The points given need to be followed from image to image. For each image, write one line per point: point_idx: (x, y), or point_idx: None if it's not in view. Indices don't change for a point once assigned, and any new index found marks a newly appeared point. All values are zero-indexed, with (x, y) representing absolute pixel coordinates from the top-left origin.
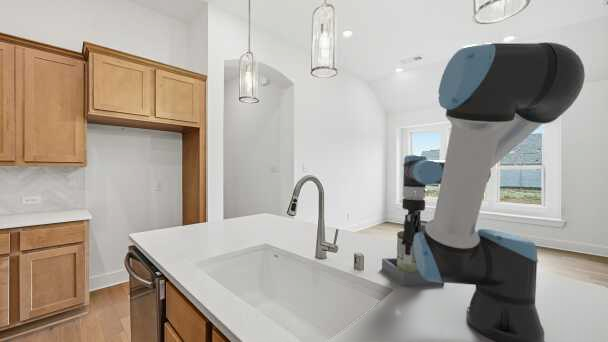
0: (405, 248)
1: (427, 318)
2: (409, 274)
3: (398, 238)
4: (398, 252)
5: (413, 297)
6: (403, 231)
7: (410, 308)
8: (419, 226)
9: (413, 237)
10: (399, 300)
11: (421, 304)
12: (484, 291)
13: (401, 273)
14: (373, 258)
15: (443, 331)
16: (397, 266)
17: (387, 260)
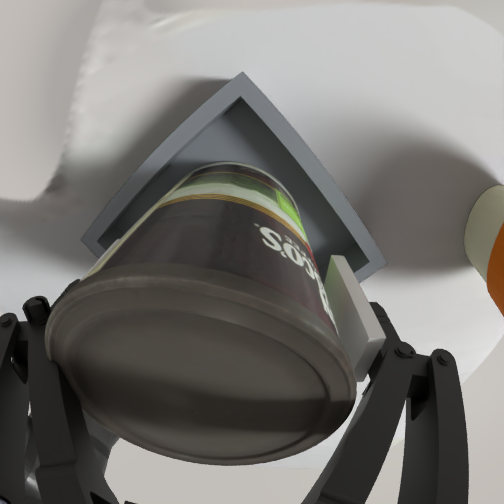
0: (53, 305)
1: (15, 290)
2: (99, 257)
3: (91, 272)
4: (142, 216)
5: (60, 258)
6: (296, 341)
7: (16, 258)
8: (405, 458)
9: (106, 406)
10: (24, 228)
11: (46, 279)
12: (30, 413)
13: (93, 223)
14: (387, 24)
15: (8, 311)
16: (182, 180)
17: (222, 110)
